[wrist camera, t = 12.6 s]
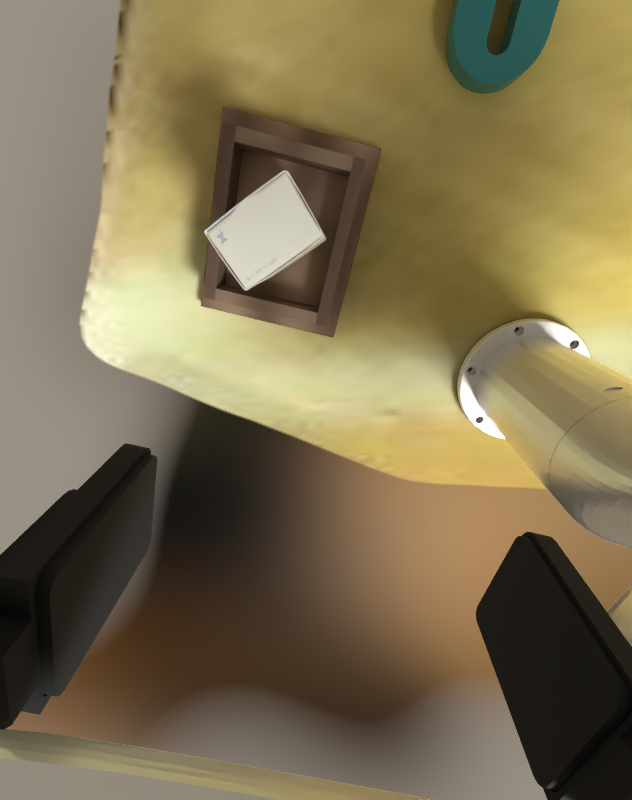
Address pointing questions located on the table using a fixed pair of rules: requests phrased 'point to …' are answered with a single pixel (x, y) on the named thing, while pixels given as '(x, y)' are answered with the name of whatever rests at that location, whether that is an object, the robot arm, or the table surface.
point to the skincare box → (266, 232)
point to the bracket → (518, 47)
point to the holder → (326, 197)
